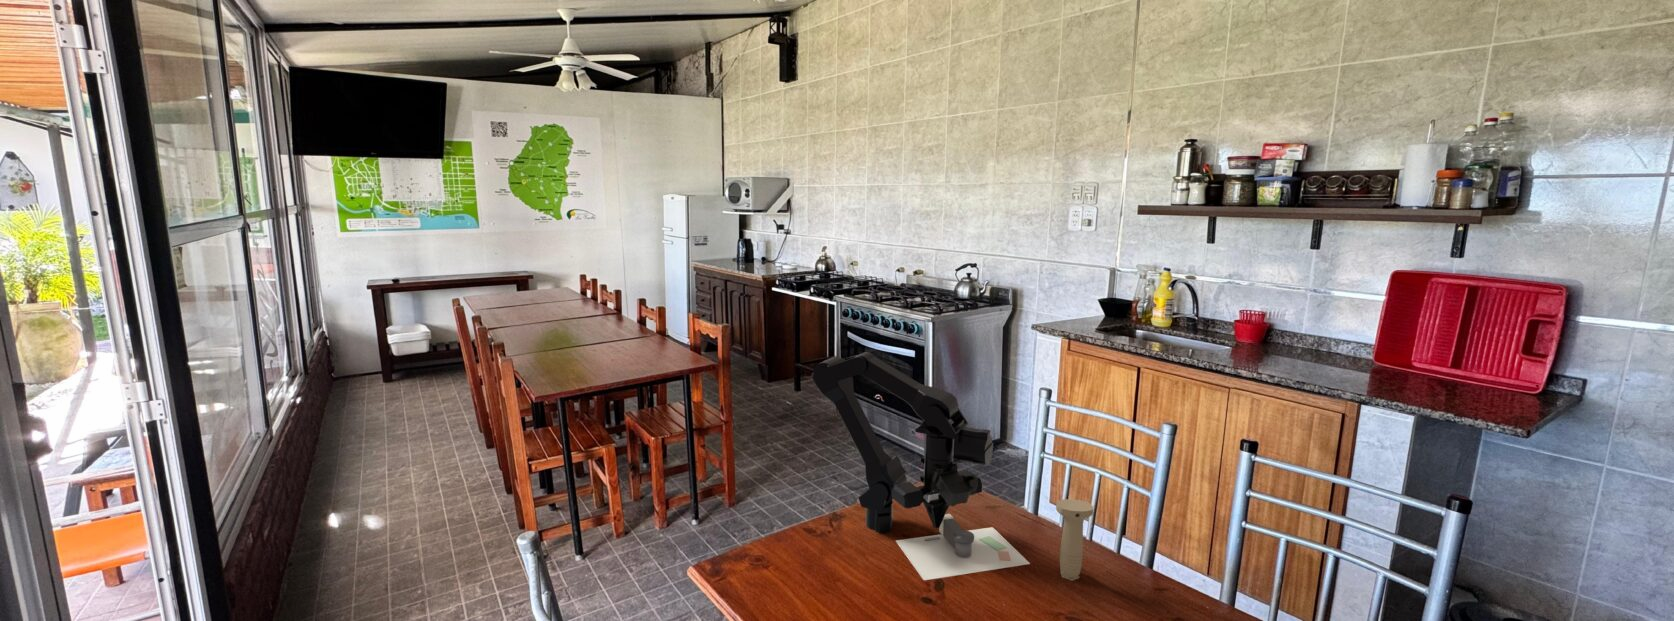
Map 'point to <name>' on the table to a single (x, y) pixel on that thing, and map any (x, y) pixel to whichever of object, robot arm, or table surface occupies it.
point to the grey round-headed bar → (957, 536)
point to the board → (941, 561)
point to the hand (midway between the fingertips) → (936, 527)
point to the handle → (1072, 535)
